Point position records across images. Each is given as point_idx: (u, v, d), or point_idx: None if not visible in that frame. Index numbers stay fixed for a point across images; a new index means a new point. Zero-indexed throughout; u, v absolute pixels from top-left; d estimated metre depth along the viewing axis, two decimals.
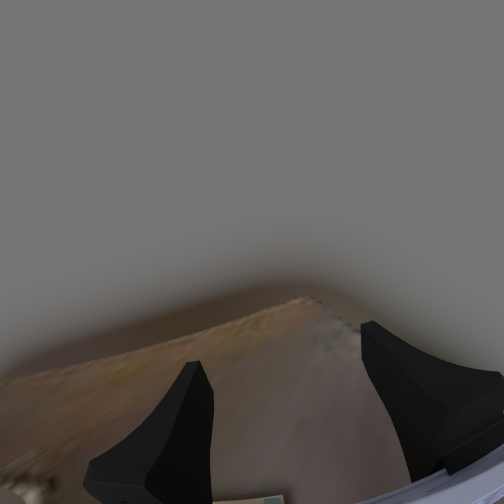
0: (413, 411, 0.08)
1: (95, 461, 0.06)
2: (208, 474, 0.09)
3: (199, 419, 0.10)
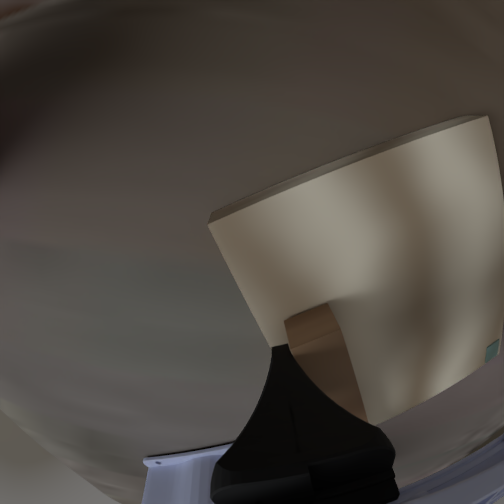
0: None
1: (225, 461, 0.06)
2: None
3: None
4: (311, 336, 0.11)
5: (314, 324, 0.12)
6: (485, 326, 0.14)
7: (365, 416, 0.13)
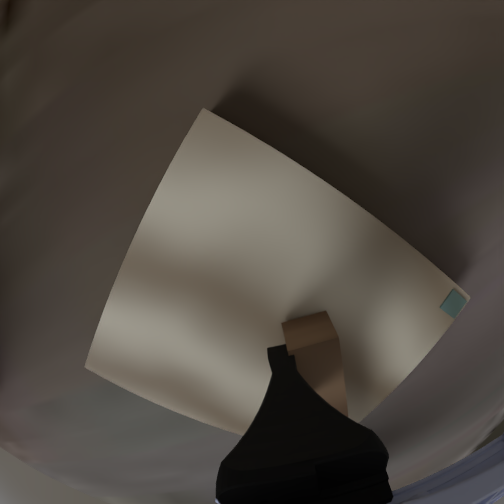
0: None
1: (230, 461, 0.06)
2: None
3: None
4: (309, 340, 0.11)
5: (312, 329, 0.12)
6: (412, 296, 0.13)
7: None
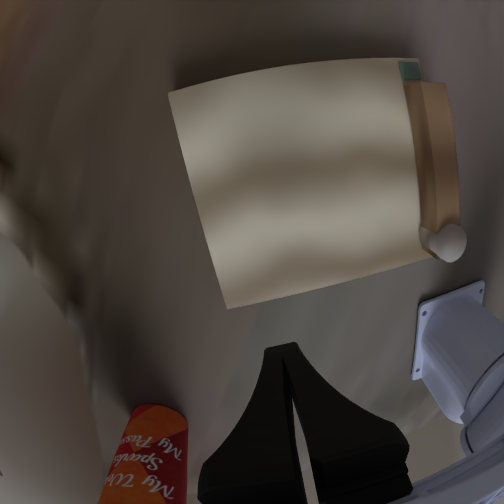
0: None
1: (211, 462, 0.06)
2: (299, 462, 0.09)
3: (289, 405, 0.10)
4: None
5: None
6: (374, 85, 0.15)
7: (457, 180, 0.15)
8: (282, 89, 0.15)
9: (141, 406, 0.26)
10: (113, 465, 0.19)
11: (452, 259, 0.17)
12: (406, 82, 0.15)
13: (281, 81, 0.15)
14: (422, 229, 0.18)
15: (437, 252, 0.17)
